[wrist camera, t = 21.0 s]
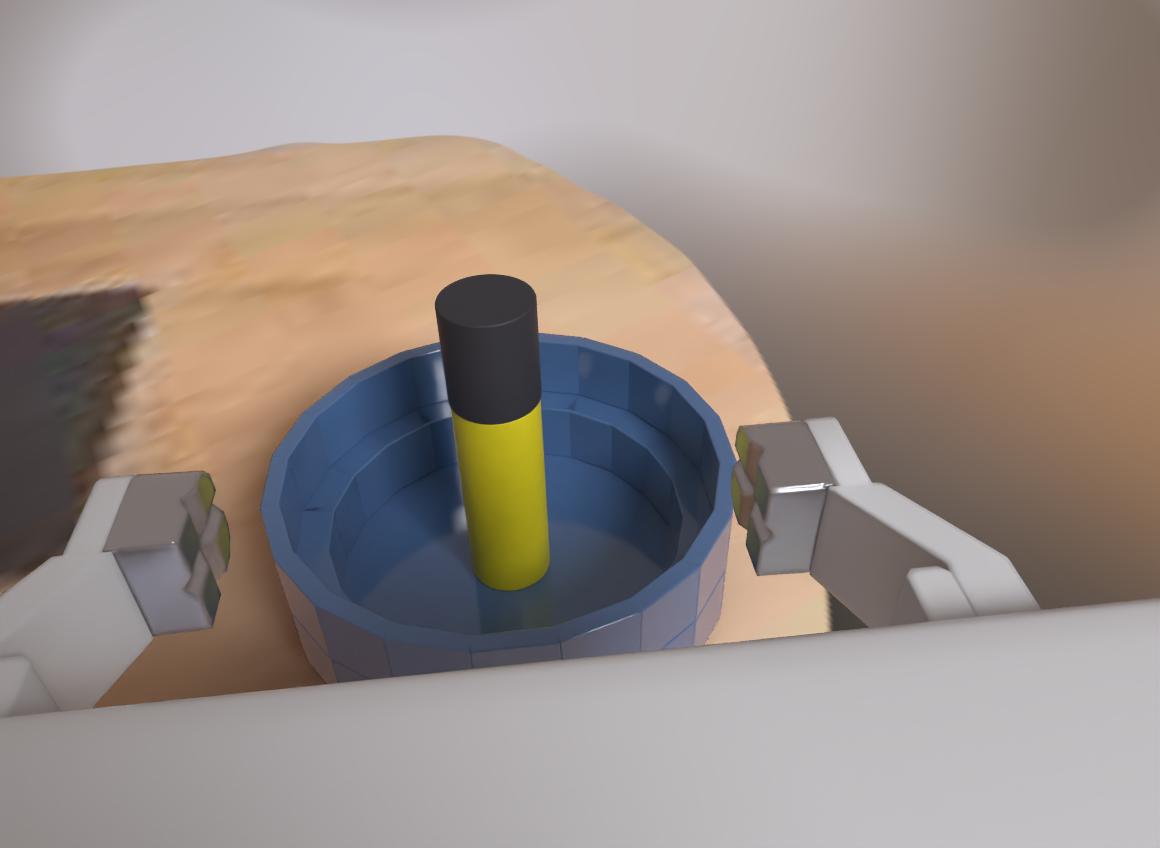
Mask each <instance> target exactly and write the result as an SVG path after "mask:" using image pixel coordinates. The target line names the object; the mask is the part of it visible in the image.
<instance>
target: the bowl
mask: <svg viewBox="0 0 1160 848" xmlns="http://www.w3.org/2000/svg"><path fill="white" fill-rule="evenodd" d="M538 335H539V352H540V370H541V387H542V396H541V415H542V432H543V449H544V466H545V483H546V500H547V517H548V534H549V551H550V564H549V567H548V569H547V571H546V573H545V574H544V576H543V577H542V578H541V579H540V580H539V581H538V582H536V583H535V584H533V585H531V586H529V587H526V588H524V589H520V590H514V591H502V590H497V589H493V588H491V587H489V586H487V585H485V584H484V583H482V582H481V581H480V580H479V579H478V578H477V576H476V575H475V573H474V570H473V566H472V558H471V551H470V544H469V537H468V529H467V522H466V515H465V508H464V500H463V493H462V486H461V479H460V471H459V464H458V457H457V450H456V442H455V435H454V428H453V421H452V413H451V407H450V406H449V403H448V396H447V389H446V382H445V375H444V368H443V360H442V353H441V346H440V342H438V343H434V344H430V345H426V346H422V347H418V348H414V349H410V350H407V351H403V352H400V353H398V354H396V355H394V356H392V357H389V358H387V359H385V360H383V361H381V362H379V363H377V364H375V365H372V366H370V367H368V368H366V369H364V370H362V371H360V372H358V373H355V374H353V375H351V376H349V377H348V378H346V379H345V380H344V381H343V382H341V383H340V384H339V385H337V386H336V387H335V388H334V389H332V390H331V391H330V392H329V393H327V394H326V395H325V396H323V397H322V398H321V399H320V400H318V401H317V402H316V403H314V404H313V405H312V406H311V407H309V408H308V409H307V410H306V411H304V413H302V414H301V416H300V417H299V418H298V420H297V421H296V423H295V424H294V426H293V427H292V428H291V430H290V431H289V433H288V434H287V435H286V437H285V438H284V440H283V441H282V443H281V444H280V445H279V447H278V448H277V450H276V451H275V452H274V454H273V455H272V458H271V462H270V466H269V470H268V475H267V479H266V484H265V488H264V492H263V497H262V501H261V505H260V507H261V508H260V511H261V515H262V518H263V522H264V526H265V530H266V534H267V538H268V541H269V545H270V549H271V553H272V557H273V560H274V563H275V566H276V569H277V572H278V575H279V578H280V581H281V584H282V587H283V590H284V593H285V596H286V599H287V602H288V605H289V608H290V610H291V613H292V616H293V619H294V622H295V625H296V628H297V631H298V634H299V637H300V640H301V643H302V646H303V649H304V652H305V655H306V658H307V659H308V662H309V663H310V664H311V665H312V666H313V668H314V669H315V670H316V671H317V672H318V674H319V675H320V676H321V677H322V678H323V680H324V681H325V682H326V683H327V684H333V683H343V682H352V681H362V680H372V679H381V678H391V677H401V676H410V675H420V674H429V673H439V672H448V671H458V670H468V669H477V668H487V667H496V666H506V665H516V664H525V663H535V662H544V661H554V660H564V659H574V658H583V657H593V656H603V655H613V654H623V653H633V652H643V651H652V650H662V649H672V648H682V647H692V646H702V645H705V643H706V641H707V640H708V638H709V636H710V634H711V632H712V631H713V629H714V627H715V625H716V623H717V622H718V620H719V618H720V615H721V607H722V599H723V590H724V582H725V574H726V565H727V557H728V549H729V540H730V532H731V524H732V515H733V503H732V494H731V476H732V467H733V466H734V465H735V464H736V463H737V461H736V458H735V456H734V453H733V450H732V448H731V445H730V442H729V440H728V437H727V435H726V432H725V429H724V427H723V424H722V421H721V419H720V417H719V416H718V414H717V413H716V412H715V411H714V410H713V409H712V408H711V407H710V406H709V405H708V404H707V403H706V402H705V401H704V400H703V399H702V397H701V396H700V395H699V394H698V393H697V392H696V391H695V390H694V389H693V388H692V387H691V386H690V385H689V384H688V383H687V381H685V380H684V379H682V378H680V377H678V376H677V375H675V374H673V373H671V372H670V371H668V370H666V369H664V368H663V367H661V366H659V365H657V364H656V363H654V362H652V361H650V360H649V359H647V358H645V357H643V356H642V355H640V354H637V353H635V352H631V351H628V350H624V349H621V348H618V347H614V346H611V345H608V344H604V343H601V342H597V341H594V340H591V339H587V338H582V337H575V336H565V335H555V334H544V333H538Z"/></svg>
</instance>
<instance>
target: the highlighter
mask: <svg viewBox="0 0 1160 848" xmlns="http://www.w3.org/2000/svg"><path fill="white" fill-rule="evenodd" d="M435 310H436V317H437V324H438V332H439V339H440V346H441V353H442V360H443V368H444V375H445V382H446V389H447V396H448V403H449V406H450V407H451V413H452V421H453V428H454V435H455V442H456V450H457V457H458V464H459V471H460V479H461V486H462V493H463V500H464V508H465V515H466V522H467V529H468V537H469V544H470V551H471V558H472V566H473V570H474V573H475V575H476V576H477V578H478V579H479V580H480V581H481V582H482V583H484V584H485V585H487V586H489V587H491V588H493V589H497V590H502V591H514V590H520V589H524V588H526V587H529V586H531V585H533V584H535V583H536V582H538V581H539V580H540V579H541V578H542V577H543V576H544V574H545V573H546V571H547V569H548V567H549V564H550V551H549V534H548V517H547V500H546V483H545V466H544V449H543V432H542V415H541V396H542V387H541V370H540V352H539V335H538V317H537V300H536V294H535V292H534V290H533V289H532V288H531V286H529V285H528V284H527V283H525V282H524V281H522V280H520V279H517V278H514V277H510V276H505V275H497V274H486V275H476V276H471V277H467V278H463V279H460V280H458V281H455V282H453V283H451V284H450V285H448V286H447V287H445V288H444V289H443V290H442V291H441V292H440V293H439V294H438V296H437V298H436V301H435Z"/></svg>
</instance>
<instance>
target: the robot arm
mask: <svg viewBox="0 0 1160 848" xmlns="http://www.w3.org/2000/svg"><path fill="white" fill-rule="evenodd" d="M735 447H736V450H737V452H738V455H739V458H740V459H739V461H738V462H737V463H736V464H735V465H734V466H733V467H732V476H731V494H732V503H733V508H734V512H735V515H736V518H737V521H738V524H739V525H740V526H742V527H743V528H745V529H746V530H747V531H748V532H747V539H746V547H747V550H748V552H749V555H750V558H751V561H752V563H753V566H754V569H755V572H756V574H757V576H763V575H777V574H791V573H805V572H810V575H811V576H812V577H813V578H814V579H815V580H816V581H817V582H819V583H820V584H821V585H822V586H823V587H824V588H825V589H827V590H828V591H829V592H830V593H831V594H832V595H833V596H835V597H836V598H837V599H838V600H839V601H840V602H841V603H843V604H844V605H845V606H846V607H847V608H848V609H849V610H851V611H852V612H853V613H854V614H855V615H856V616H858V617H859V618H860V619H861V620H862V621H863V622H864V623H865V624H867V625H868V626H869V627H870V628H864V629H854V630H845V631H835V632H825V633H816V634H806V635H797V636H787V637H778V638H769V639H759V640H750V641H741V642H731V643H721V644H712V645H702V646H692V647H682V648H672V649H662V650H652V651H643V652H633V653H623V654H613V655H603V656H593V657H583V658H574V659H564V660H554V661H544V662H535V663H525V664H516V665H506V666H496V667H487V668H477V669H468V670H458V671H448V672H439V673H429V674H420V675H410V676H401V677H391V678H381V679H372V680H362V681H352V682H343V683H333V684H323V685H314V686H304V687H294V688H285V689H275V690H265V691H256V692H246V693H236V694H227V695H217V696H207V697H198V698H188V699H178V700H169V701H159V702H149V703H140V704H130V705H120V706H111V707H101V708H93V707H94V705H95V704H96V703H97V702H98V701H99V700H100V699H101V698H102V697H103V695H104V694H105V693H106V692H107V691H108V690H109V689H110V688H111V687H112V685H113V684H114V683H115V682H116V681H117V680H118V679H119V678H120V676H121V675H122V674H123V673H124V672H125V671H126V670H127V669H128V668H129V666H130V665H131V664H132V663H133V662H134V661H135V660H136V659H137V657H138V656H139V655H140V654H141V653H142V652H143V651H144V650H145V649H146V647H147V646H148V645H149V644H150V643H151V642H152V641H153V640H154V638H153V636H159V635H167V634H175V633H183V632H191V631H200V630H208V629H212V627H213V623H214V619H215V615H216V612H217V608H218V604H219V600H220V596H221V593H220V591H219V588H218V585H217V583H216V581H217V580H218V579H219V578H220V577H221V576H222V575H223V574H224V573H225V572H227V567H228V563H229V558H230V533H229V528H228V523H227V520H226V517H225V514H224V511H222V510H221V509H219V508H218V507H216V506H215V505H214V504H212V502H213V498H214V495H215V491H216V489H215V487H214V484H213V482H212V479H211V477H210V474H209V473H207V472H205V471H188V472H171V473H155V474H139V475H136V476H133V475H131V476H116V477H102V478H101V479H99V480H98V481H97V482H96V483H95V484H94V486H93V488H92V490H91V492H90V495H89V497H88V499H87V501H86V503H85V506H84V508H83V510H82V512H81V515H80V517H79V519H78V521H77V524H76V526H75V528H74V530H73V532H72V535H71V537H70V539H69V541H68V544H67V546H66V548H65V550H64V553H63V555H62V556H55V557H51V558H50V559H48V560H47V561H46V562H44V563H43V564H42V565H40V566H39V567H38V568H36V569H35V570H34V571H32V572H31V573H30V574H28V575H27V576H26V577H24V578H23V579H22V580H20V581H19V582H18V583H16V584H15V585H14V586H12V587H11V588H10V589H8V590H7V591H6V592H4V593H3V594H2V595H0V848H1160V598H1155V599H1145V600H1135V601H1125V602H1116V603H1107V604H1097V605H1087V606H1077V607H1067V608H1058V609H1048V610H1041V608H1040V607H1039V605H1038V604H1037V602H1036V601H1035V599H1034V598H1033V596H1032V594H1031V593H1030V591H1029V590H1028V588H1027V587H1026V585H1025V584H1024V582H1023V581H1022V579H1021V577H1020V576H1019V574H1018V573H1017V571H1016V570H1015V568H1014V567H1013V565H1012V564H1011V562H1010V561H1009V559H1008V557H1006V556H1004V555H1002V554H1001V553H999V552H997V551H996V550H994V549H992V548H991V547H989V546H987V545H986V544H984V543H982V542H981V541H979V540H977V539H975V538H974V537H972V536H970V535H969V534H967V533H965V532H964V531H962V530H960V529H959V528H957V527H955V526H953V525H952V524H950V523H948V522H947V521H945V520H943V519H942V518H940V517H938V516H937V515H935V514H933V513H931V512H930V511H928V510H926V509H925V508H923V507H921V506H920V505H918V504H916V503H915V502H913V501H911V500H909V499H908V498H906V497H904V496H903V495H901V494H899V493H898V492H896V491H894V490H893V489H891V488H889V487H887V486H886V485H884V484H882V483H881V482H880V483H872V482H871V481H870V479H869V477H868V475H867V473H866V472H865V470H864V468H863V466H862V464H861V463H860V461H859V459H858V457H857V455H856V453H855V452H854V450H853V448H852V446H851V444H850V442H849V441H848V439H847V437H846V435H845V433H844V431H843V430H842V428H841V426H840V424H839V422H838V421H837V420H836V419H835V418H834V417H822V418H814V419H813V418H812V419H803V420H801V421H789V422H778V423H766V424H755V425H744V426H739V429H738V431H737V435H736V442H735Z"/></svg>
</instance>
